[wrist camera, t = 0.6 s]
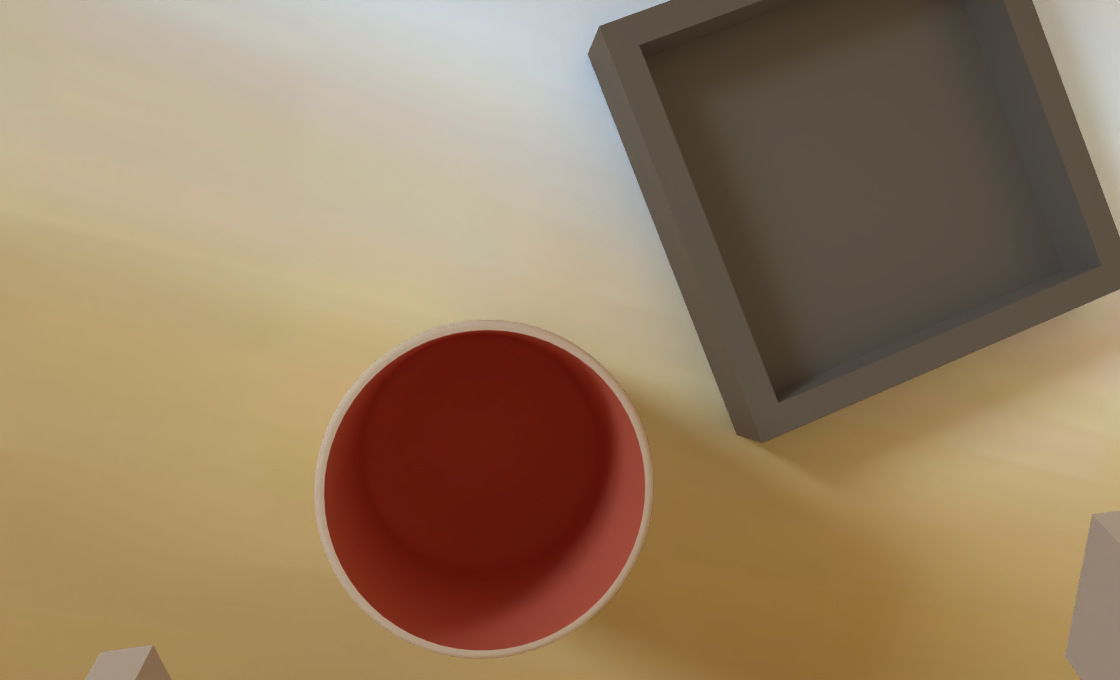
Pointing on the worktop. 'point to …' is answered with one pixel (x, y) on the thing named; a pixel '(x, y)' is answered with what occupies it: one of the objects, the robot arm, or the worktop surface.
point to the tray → (855, 187)
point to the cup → (484, 489)
